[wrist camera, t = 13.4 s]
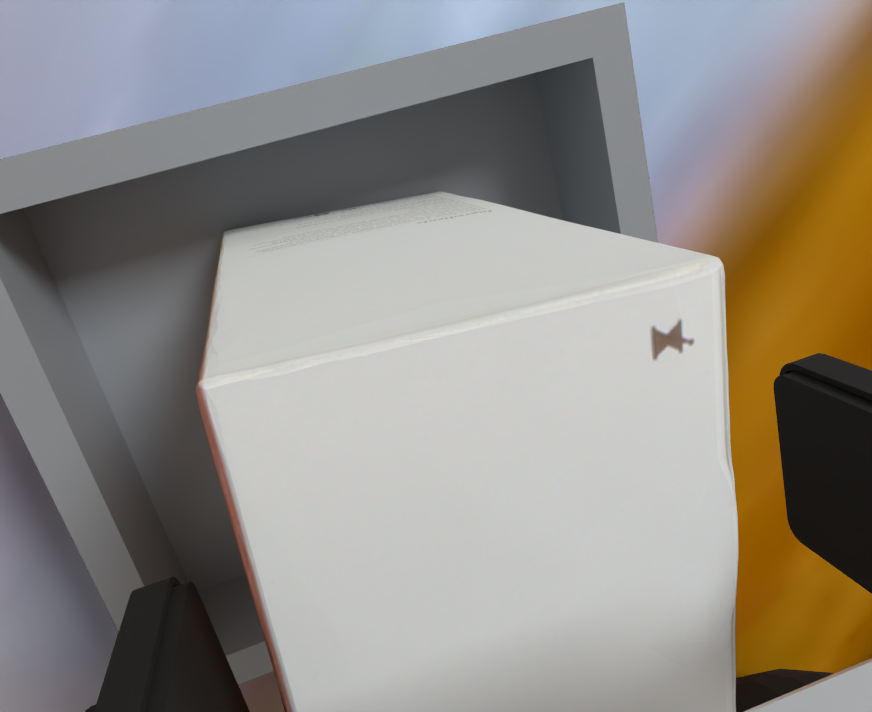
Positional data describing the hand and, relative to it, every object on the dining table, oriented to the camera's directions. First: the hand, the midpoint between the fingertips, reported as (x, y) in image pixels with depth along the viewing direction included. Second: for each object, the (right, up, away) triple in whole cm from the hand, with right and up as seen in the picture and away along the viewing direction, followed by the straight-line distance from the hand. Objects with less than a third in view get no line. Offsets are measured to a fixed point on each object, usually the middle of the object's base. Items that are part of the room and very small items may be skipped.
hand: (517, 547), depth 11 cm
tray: (-4, +4, +11) cm, 12 cm away
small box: (-4, +3, +10) cm, 11 cm away
